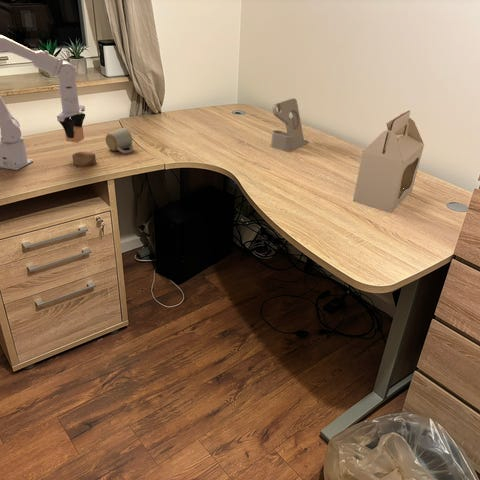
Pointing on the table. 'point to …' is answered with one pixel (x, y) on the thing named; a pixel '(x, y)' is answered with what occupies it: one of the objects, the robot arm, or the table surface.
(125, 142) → the ceramic mug
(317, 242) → the table surface
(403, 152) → the gable box
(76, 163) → the pedestal
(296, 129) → the phone holder
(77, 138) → the cube
